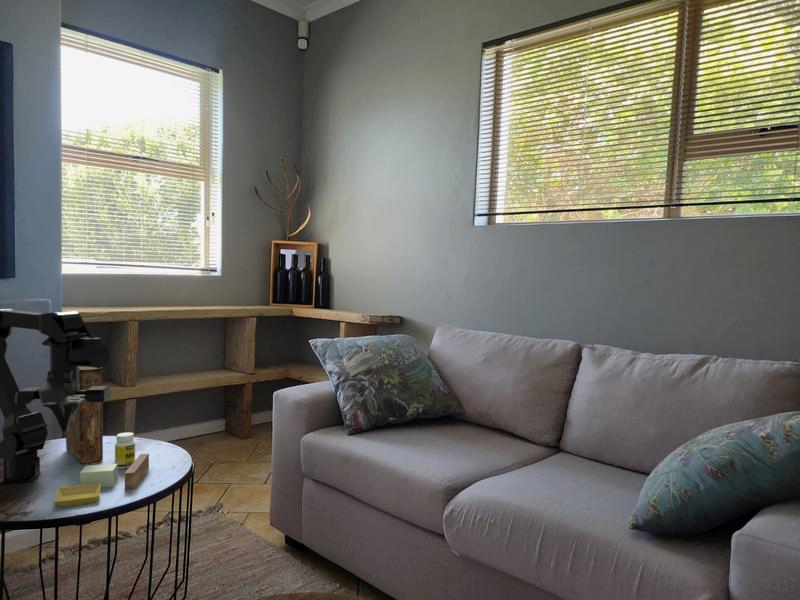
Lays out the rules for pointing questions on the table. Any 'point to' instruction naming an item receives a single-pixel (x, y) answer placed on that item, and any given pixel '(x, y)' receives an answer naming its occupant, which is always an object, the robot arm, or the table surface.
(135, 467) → the board
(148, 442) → the table surface
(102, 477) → the block
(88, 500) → the yellow tray
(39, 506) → the table surface
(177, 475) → the table surface
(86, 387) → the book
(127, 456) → the supplement bottle
